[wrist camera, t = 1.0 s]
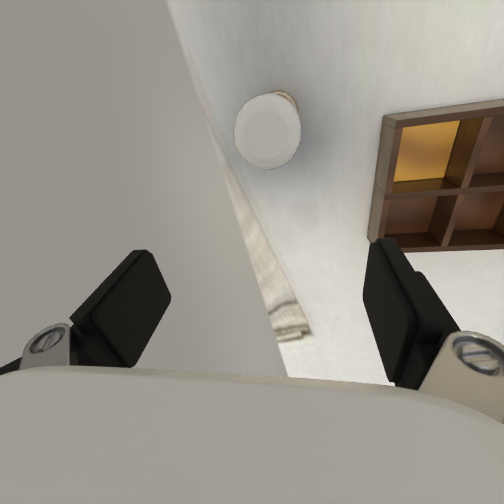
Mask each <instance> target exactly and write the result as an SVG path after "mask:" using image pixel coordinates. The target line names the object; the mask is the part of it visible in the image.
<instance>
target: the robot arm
mask: <svg viewBox="0 0 504 504" xmlns="http://www.w3.org/2000/svg"><path fill="white" fill-rule="evenodd" d="M170 301H171V294H170V292H169V290H168V288H167V285H166V283H165V281H164V279H163V277H162V274H161V272H160V270H159V268H158V265H157V263H156V261H155V259H154V257H153V255H152V253H150V252H149V251H147V250H133V251H132V252H131V253H130V254H129V255H128V256H127V257H126V258H125V259H124V260H123V261H122V263H120V265H119V266H118V267H117V268H116V269H115V270H114V271H113V272H112V273H111V274H110V275H109V276H108V277H107V278H106V279H105V280H104V281H103V283H102V284H101V285H100V286H99V287H98V288H97V289H96V290H95V291H94V292H93V293H92V294H91V295H90V296H89V297H88V298H87V300H86V301H85V302H84V303H83V304H82V305H81V306H80V307H79V308H78V309H77V310H76V311H75V312H74V313H73V314H72V315H71V316H70V320H71V321H72V322H73V323H74V324H73V325H72V327H70V326H69V325H67V324H65V323H59V324H55V325H52V326H50V327H47V328H46V329H44V330H42V331H40V332H39V333H38V334H36V335H35V336H34V337H33V338H32V339H31V340H30V341H29V342H28V343H27V345H26V346H25V348H24V351H23V355H22V357H21V358H18V359H16V360H15V361H13V362H11V363H9V364H7V365H5V366H3V367H1V368H0V504H504V345H502V344H501V343H500V342H498V341H496V340H494V339H492V338H490V337H488V336H486V335H483V334H480V333H477V332H471V331H461V330H460V328H459V327H458V325H457V324H456V322H455V321H454V319H453V318H452V316H451V315H450V313H449V312H448V310H447V309H446V307H445V306H444V304H443V303H442V301H441V300H440V298H439V297H438V295H437V294H436V292H435V291H434V289H433V288H432V286H431V285H430V283H429V282H428V280H427V279H426V277H425V276H424V275H423V274H422V273H421V272H419V271H414V269H413V267H412V266H411V264H410V263H409V261H408V260H407V258H406V256H405V255H404V253H403V252H402V250H401V249H400V247H399V245H398V244H397V242H396V241H395V239H394V238H378V239H376V240H375V242H372V243H370V247H369V253H368V260H367V267H366V274H365V281H364V288H363V302H364V305H365V309H366V312H367V315H368V318H369V321H370V324H371V328H372V331H373V334H374V337H375V340H376V344H377V347H378V350H379V353H380V356H381V359H382V363H383V366H384V369H385V372H386V375H387V378H388V380H389V382H394V383H395V386H396V387H394V386H386V385H378V384H370V383H357V382H345V381H333V380H320V379H305V378H290V377H274V376H258V375H243V374H226V373H208V372H192V371H175V370H156V369H137V368H132V367H133V366H135V365H136V363H137V361H138V360H139V358H140V356H141V354H142V352H143V351H144V349H145V347H146V345H147V343H148V342H149V340H150V338H151V336H152V334H153V333H154V331H155V329H156V327H157V325H158V324H159V322H160V320H161V318H162V316H163V314H164V313H165V311H166V309H167V307H168V306H169V304H170Z"/></svg>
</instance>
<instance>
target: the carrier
mask: <svg viewBox="0 0 504 504" xmlns="http://www.w3.org/2000/svg"><path fill="white" fill-rule="evenodd" d="M367 238H368V240H369V242H370V243H372V242H375V240H376V239H378V238H394V239H395V241H396V242H397V244H398V245H399V247H400V249H401V250H402V252H403V253H411V252H438V251H466V250H493V249H504V99H498V100H491V101H484V102H476V103H469V104H462V105H455V106H447V107H440V108H433V109H426V110H418V111H411V112H404V113H397V114H389V115H384V116H383V122H382V129H381V137H380V144H379V152H378V159H377V167H376V174H375V182H374V189H373V196H372V204H371V211H370V219H369V226H368V234H367Z"/></svg>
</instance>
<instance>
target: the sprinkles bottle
mask: <svg viewBox="0 0 504 504" xmlns="http://www.w3.org/2000/svg"><path fill="white" fill-rule="evenodd" d="M233 136H234V142H235V146H236V148H237V151H238V152H239V154H240V156H241V157H242V158H243V159H244V160H245V161H246V162H247V163H248V164H250V165H251V166H253V167H256V168H259V169H265V170H269V169H275V168H278V167H280V166H282V165H284V164H285V163H287V162H288V161H289V160H290V159H291V158H292V157H293V155H294V154H295V152H296V150H297V148H298V146H299V143H300V138H301V123H300V118H299V115H298V107H297V104H296V102H295V100H294V98H293V97H292V96H291V95H290V94H289V93H287V92H285V91H281V90H277V91H272V92H270V93H269V94H263V95H259V96H257V97H255V98H253V99H251V100H250V101H248V102H247V103H246V104H245V105H244V106H243V107H242V109H241V110H240V111H239V113H238V115H237V117H236V120H235V124H234V130H233Z"/></svg>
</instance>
